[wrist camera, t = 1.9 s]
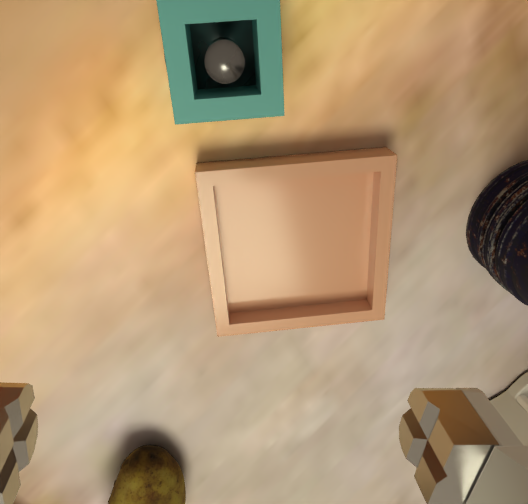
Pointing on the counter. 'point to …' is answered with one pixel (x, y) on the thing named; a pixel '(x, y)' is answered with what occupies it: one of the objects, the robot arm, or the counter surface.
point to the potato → (149, 478)
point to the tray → (297, 238)
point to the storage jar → (503, 230)
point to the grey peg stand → (223, 54)
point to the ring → (229, 98)
